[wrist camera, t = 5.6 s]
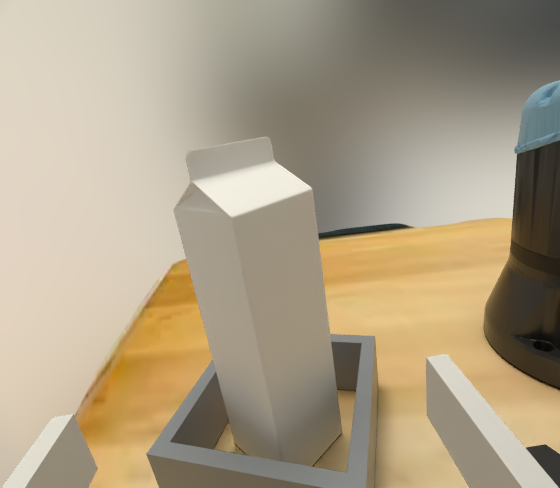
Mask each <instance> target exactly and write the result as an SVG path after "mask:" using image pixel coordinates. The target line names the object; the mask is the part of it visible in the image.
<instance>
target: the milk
mask: <svg viewBox="0 0 560 488" xmlns="http://www.w3.org/2000/svg"><path fill="white" fill-rule="evenodd" d="M186 162H187V167H188V171H189V175H190V180H191V182H190V184H189V185H188V187H187V188H186V190H185V192H184V193H183V195H182V196H181V198H180V200H179V201H178V203H177V204H176V206H175V208H174V213H175V217H176V221H177V224H178V228H179V232H180V236H181V240H182V244H183V248H184V251H185V255H186V259H187V263H188V267H189V270H190V274H191V278H192V282H193V286H194V289H195V293H196V297H197V301H198V305H199V309H200V312H201V316H202V320H203V324H204V328H205V331H206V335H207V339H208V343H209V347H210V350H211V354H212V358H213V362H214V366H215V370H216V373H217V377H218V381H219V385H220V389H221V392H222V396H223V400H224V404H225V408H226V411H227V415H228V419H229V423H230V427H231V431H232V434H233V438H234V442H235V444H236V445H237V446H238V447H239V448H240V449H241V450H243V451H244V452H245V453H246V454H247V455H248V456H253V457H259V458H265V459H271V460H277V461H283V462H288V463H294V464H300V465H306V466H313V465H314V464H315V462H316V461H317V460H318V459H319V458H320V457H321V456H322V454H323V453H324V452H325V451H326V450H327V449H328V448H329V446H330V445H331V444H332V443H333V442H334V441H335V439H336V438H337V437H338V436H339V435H340V434H341V432H342V427H341V419H340V411H339V403H338V394H337V386H336V378H335V370H334V362H333V354H332V345H331V337H330V329H329V321H328V313H327V304H326V296H325V288H324V280H323V272H322V263H321V255H320V247H319V239H318V231H317V222H316V215H315V206H314V198H313V190H312V188H311V187H310V186H308V185H307V184H306V183H304V182H303V181H301V180H300V179H299V178H297V177H296V176H294V175H293V174H292V173H290V172H289V171H288V170H286V169H285V168H283V167H282V166H281V165H279V164H278V163H276V162H275V161H274V156H273V150H272V144H271V141H270V139H269V138H268V137H261V138H256V139H250V140H245V141H240V142H234V143H228V144H223V145H217V146H212V147H206V148H201V149H196V150H190V151H188V152H187V154H186Z"/></svg>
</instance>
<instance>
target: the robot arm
mask: <svg viewBox="0 0 560 488" xmlns="http://www.w3.org/2000/svg"><path fill="white" fill-rule="evenodd" d="M515 153H516V154H517V164H516V178H515V193H514V207H513V221H512V232H511V247H510V256H509V259H508V261H507V263H506V265H505V267H504V269H503V271H502V273H501V275H500V277H499V279H498V281H497V283H496V285H495V287H494V289H493V291H492V293H491V295H490V297H489V299H488V301H487V303H486V307H485V314H484V332H485V335H486V338H487V340H488V341H489V343H490V344H491V345H492V347H493V348H494V349H495V350H496V351H497V352H498V353H499V354H500V355H501V356H502V357H503V358H505V359H506V360H507V361H509V362H510V363H511V364H513V365H514V366H516V367H517V368H519V369H521V370H522V371H524V372H526V373H528V374H529V375H531V376H533V377H535V378H537V379H539V380H542V381H544V382H546V383H548V384H551V385H553V386H556V387H559V388H560V80H559V81H556V82H553V83H550V84H547V85H545V86H543V87H541V88H539V89H538V90H537V91H535V92H534V93H533V94H532V95H531V96H530V97H529V98H528V100H527V101H526V103H525V105H524V107H523V111H522V118H521V125H520V132H519V139H518V145H517V146H516V147H515ZM426 385H427V416H428V418H429V420H430V421H431V423H432V425H433V426H434V428H435V430H436V432H437V433H438V435H439V437H440V438H441V440H442V442H443V443H444V445H445V447H446V449H447V450H448V452H449V454H450V455H451V457H452V459H453V460H454V462H455V464H456V466H457V467H458V469H459V471H460V472H461V474H462V476H463V478H464V479H465V481H466V483H467V484H468V486H469V488H560V454H559V453H557V452H556V451H554V450H553V449H551V448H550V447H548V446H547V445H539V446H533V447H527V448H525V447H524V446H523V444H522V443H521V442H520V441H519V440H518V438H517V437H516V436H515V435H514V434H513V432H512V431H511V430H510V429H509V428H508V426H507V425H506V424H505V423H504V422H503V421H502V419H501V418H500V417H499V416H498V415H497V413H496V412H495V411H494V410H493V409H492V407H491V406H490V405H489V404H488V403H487V401H486V400H485V399H484V398H483V397H482V395H481V394H480V393H479V392H478V391H477V389H476V388H475V387H474V386H473V385H472V384H471V382H470V381H469V380H468V379H467V378H466V376H465V375H464V374H463V373H462V372H461V370H460V369H459V368H458V367H457V366H456V364H455V363H454V362H453V361H452V360H451V358H450V357H449V356H448V355H447V354H443V355H436V356H430V357H426ZM97 469H98V468H97V466H96V464H95V461H94V459H93V457H92V454H91V452H90V450H89V448H88V445H87V443H86V441H85V439H84V436H83V434H82V432H81V430H80V427H79V425H78V423H77V421H76V418H75V416H74V414H70V415H64V416H58V417H53V418H52V419H51V421H50V422H49V423H48V425H47V426H46V428H45V429H44V430H43V432H42V433H41V434H40V436H39V437H38V439H37V440H36V441H35V443H34V444H33V446H32V447H31V448H30V450H29V451H28V452H27V454H26V455H25V456H24V458H23V459H22V461H21V462H20V463H19V465H18V466H17V467H16V469H15V470H14V472H13V473H12V474H11V476H10V477H9V479H8V480H7V481H6V483H5V484H4V485H3V487H2V488H88V487H89V485H90V483H91V481H92V479H93V477H94V475H95V473H96V471H97Z"/></svg>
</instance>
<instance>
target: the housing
mask: <svg viewBox="0 0 560 488" xmlns="http://www.w3.org/2000/svg"><path fill="white" fill-rule="evenodd" d="M330 337H331V345H332V354H333V362H334V370H335V378H336V386H337V389H342V390H353V391H356V397H355V406H354V415H353V423H352V432H351V441H350V450H349V459H348V467H347V473H346V472H341V471H335V470H329V469H323V468H317V467H312V466H306V465H300V464H294V463H288V462H283V461H277V460H271V459H265V458H259V457H253V456H248V455H242V454H236V453H230V452H224V451H219V450H213V449H214V447H215V445H216V443H217V441H218V439H219V437H220V435H221V434H222V432H223V430H224V428H225V426H226V424H227V422H228V420H229V419H228V415H227V411H226V408H225V404H224V400H223V396H222V392H221V389H220V385H219V381H218V377H217V373H216V370H215V366H214V362H213V360H212V361H211V363H210V364H209V366H208V367H207V368H206V370H205V371H204V373H203V374H202V376H201V377H200V378H199V380H198V381H197V383H196V384H195V386H194V387H193V388H192V390H191V391H190V393H189V394H188V396H187V397H186V398H185V400H184V401H183V403H182V404H181V406H180V407H179V408H178V410H177V411H176V413H175V414H174V416H173V417H172V418H171V420H170V421H169V423H168V424H167V426H166V427H165V428H164V430H163V431H162V433H161V434H160V436H159V437H158V438H157V440H156V441H155V443H154V444H153V446H152V447H151V448H150V450H149V451H148V453H147V457H148V459H149V462H150V465H151V467H152V470H153V472H154V475H155V478H156V480H157V483H158V485H159V488H375V462H376V434H377V407H378V373H377V359H376V345H375V336H359V335H336V334H330Z"/></svg>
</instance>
